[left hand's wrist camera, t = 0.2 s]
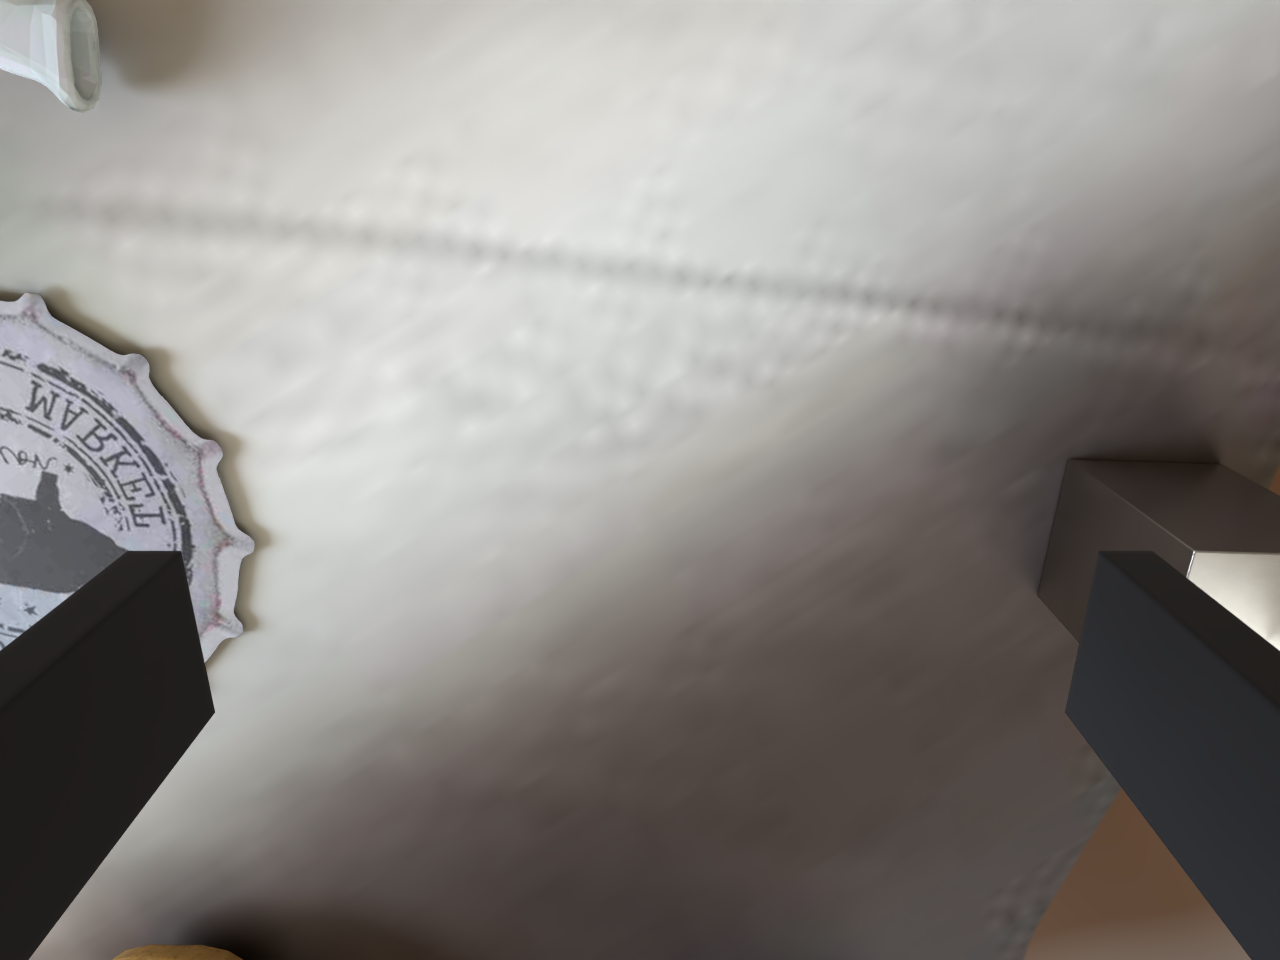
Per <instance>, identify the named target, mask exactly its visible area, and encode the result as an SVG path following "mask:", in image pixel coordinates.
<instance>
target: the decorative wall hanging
mask: <svg viewBox="0 0 1280 960" xmlns="http://www.w3.org/2000/svg"><path fill="white" fill-rule="evenodd" d="M222 457H223V451H222V449H221V447H220V446H219V445H218V444H217V443H216V442H215V441H213V440H206V439H202V438H200V437H199V436H197V435H196V434H195V433H193V432H192V431H191V429H190V428H189V427H188V426H187V425H186V424H185V423H184V422H183V420H182V419H181V418H180V417H179V416H178V414H177V413H176V412H175V411H174V409H173V408H172V407H171V406H170V405H169V403H168V402H167V401H166V400H165V399H164V398H163V397H162V396H161V395H160V394H159V393H158V391H157V390H156V389H155V388H154V386H153V385H152V383H151V381H150V379H149V363H148V361H147V360H146V359H145V358H144V357H143V356H142V355H140V354H135V353H131V354H128V355H119V354H117V353H115V352H113V351H111V350H109V349H107V348H106V347H104V346H102V345H100V344H99V343H97V342H95V341H94V340H92V339H90V338H89V337H87V336H85V335H83V334H82V333H80V332H78V331H76V330H74V329H73V328H71V327H69V326H67V325H65V324H64V323H62V322H60V321H58V320H56V319H55V318H53V317H52V316H51V315H50V313H49V312H48V310H47V308H46V305H45V302H44V300H43V299H42V298H41V297H40V296H39V294H31V293H27V292H26V293H24V294H23V296H22V297H21V298H20V299H19V300H17V301H15V302H4V301H0V651H1V650H2V649H3V648H4V647H6V646H7V645H8V644H9V643H11V642H12V641H13V640H15V639H16V638H17V637H18V636H20V635H21V634H22V633H24V632H25V631H26V630H27V629H29V628H30V627H31V626H32V625H34V624H35V623H36V622H38V621H39V620H40V619H41V618H43V617H44V616H45V615H46V614H48V613H49V612H50V611H52V610H53V609H54V608H55V607H57V606H58V605H59V604H60V603H62V602H63V601H64V600H66V599H67V598H68V597H69V596H71V595H72V594H73V593H74V592H76V591H77V590H78V589H80V588H81V587H82V586H83V585H85V584H86V583H87V582H88V581H90V580H91V579H92V578H94V577H95V576H96V575H97V574H99V573H100V572H101V571H103V570H104V569H105V568H106V567H108V566H109V565H110V564H111V563H113V562H114V561H115V560H117V559H118V558H119V557H120V556H122V555H123V554H124V553H125V552H127V551H181V552H182V557H183V562H184V567H185V571H186V576H187V581H188V586H189V590H190V595H191V600H192V605H193V610H194V614H195V619H196V624H197V629H198V633H199V638H200V643H201V648H202V653H203V657H204V662H206V661H207V660H208V659H209V657H210V656H211V655H212V654H213V652H214V651H215V650H216V648H217V646H218V645H219V644H220V643H221V642H222V641H223V640H224V639H227V638H232V637H235V638H236V637H239V636H241V635H242V633H243V625H242V623H241V622H240V621H239V620H238V619H237V618H236V616H235V615H234V606H235V601H236V597H237V592H238V577H239V569H240V564H241V561H242V559H243V558H244V557H245V556H247V555H249V554H251V553H252V552H253V551H254V547H255V545H254V541H253V540H252V539H251V537H249V536H248V535H246V534H244V533H243V532H241V531H240V530H239V529H238V528H237V527H236V525H235V522H234V518H233V515H232V512H231V509H230V506H229V503H228V500H227V497H226V495H225V492H224V489H223V486H222V483H221V481H220V478H219V476H218V473H217V470H216V468H217V465H218V463H219V461H220V460H221V458H222Z"/></svg>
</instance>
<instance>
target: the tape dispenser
mask: <svg viewBox="0 0 1280 960" xmlns="http://www.w3.org/2000/svg"><path fill="white" fill-rule="evenodd" d="M0 69H2V70H5V71H8V72H10V73H13V74H16V75H19V76H22V77H26V78H29V79H32V80H35V81H38V82H40V83H41V84H43V85H45V86H46V87H48V88H49V89H50V90H51V91H52V92H53V93H54V94H55V95H56V96H57V97H58V98H59V99H60V101H61V102H63V103H64V104H65V105H66V106H68V107H69V108H71V109H73V110H75V111H77V112H85V111H87V110H90V109H92V108H94V106H95V104H96V103H97V101H98V99H99V95H100V89H101V83H102V81H101V67H100V51H99V37H98V27H97V21H96V18H95V15H94V12H93V10H92V7H91V6H90V5H89V3H88V2H87V1H86V0H0Z"/></svg>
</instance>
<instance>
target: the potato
mask: <svg viewBox="0 0 1280 960" xmlns="http://www.w3.org/2000/svg"><path fill="white" fill-rule="evenodd" d="M112 960H243V959H241V958H239V957H238V956H236V955H234V954H233V953H231V952H229V951H227V950H222V949H218V948H214V947H209V946H205V945H146V946H142V947H137V948H133V949H129V950H126V951H124V952H123V953H121V954H120V955H118V956H117V957H115V958H114V959H112Z"/></svg>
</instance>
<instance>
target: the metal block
mask: <svg viewBox="0 0 1280 960" xmlns="http://www.w3.org/2000/svg"><path fill="white" fill-rule="evenodd" d="M1099 551H1153V552H1155V553H1156V554H1157V555H1158V556H1160V557H1161V558H1162V559H1163V560H1165V561H1166V562H1167V563H1169V564H1170V565H1171V566H1172V567H1174V568H1175V569H1176V570H1177V571H1179V572H1180V573H1181V574H1183V575H1184V576H1185V577H1186V578H1188V579H1189V580H1190V581H1192V582H1193V583H1194V584H1195V585H1197V586H1198V587H1199V588H1200V589H1202V590H1203V591H1204V592H1206V593H1207V594H1208V595H1209V596H1211V597H1212V598H1213V599H1214V600H1216V601H1217V602H1218V603H1220V604H1221V605H1222V606H1223V607H1225V608H1226V609H1227V610H1228V611H1230V612H1231V613H1232V614H1234V615H1235V616H1236V617H1237V618H1239V619H1240V620H1241V621H1242V622H1244V623H1245V624H1246V625H1248V626H1249V627H1250V628H1251V629H1253V630H1254V631H1255V632H1256V633H1258V634H1259V635H1260V636H1262V637H1263V638H1264V639H1265V640H1267V641H1268V642H1269V643H1271V644H1272V645H1273V646H1274V647H1276V648H1277V649H1278V650H1279V651H1280V496H1279V495H1277V494H1276V493H1274V492H1272V491H1270V490H1268V489H1266V488H1264V487H1263V486H1261V485H1259V484H1257V483H1255V482H1253V481H1252V480H1250V479H1248V478H1246V477H1244V476H1242V475H1241V474H1239V473H1237V472H1235V471H1233V470H1231V469H1229V468H1228V467H1226V466H1224V465H1222V464H1202V463H1172V462H1142V461H1112V460H1081V459H1068V461H1067V465H1066V470H1065V474H1064V479H1063V483H1062V488H1061V492H1060V497H1059V501H1058V505H1057V510H1056V514H1055V519H1054V523H1053V528H1052V532H1051V537H1050V541H1049V546H1048V550H1047V554H1046V559H1045V563H1044V568H1043V572H1042V577H1041V581H1040V586H1039V590H1038V597H1039V598H1040V599H1041V601H1042V602H1043V603H1044V604H1045V605H1046V606H1047V607H1048V608H1049V610H1050V611H1051V612H1052V613H1053V614H1054V615H1055V616H1056V617H1057V619H1058V620H1059V621H1060V622H1061V623H1062V624H1063V625H1064V626H1065V628H1066V629H1067V630H1068V631H1069V632H1070V633H1071V634H1072V635H1073V637H1074V638H1075V639H1076V640H1077V641H1078V642H1079V643H1080V638H1081V633H1082V629H1083V624H1084V619H1085V614H1086V610H1087V605H1088V600H1089V595H1090V590H1091V586H1092V581H1093V576H1094V571H1095V567H1096V562H1097V557H1098V552H1099Z"/></svg>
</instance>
